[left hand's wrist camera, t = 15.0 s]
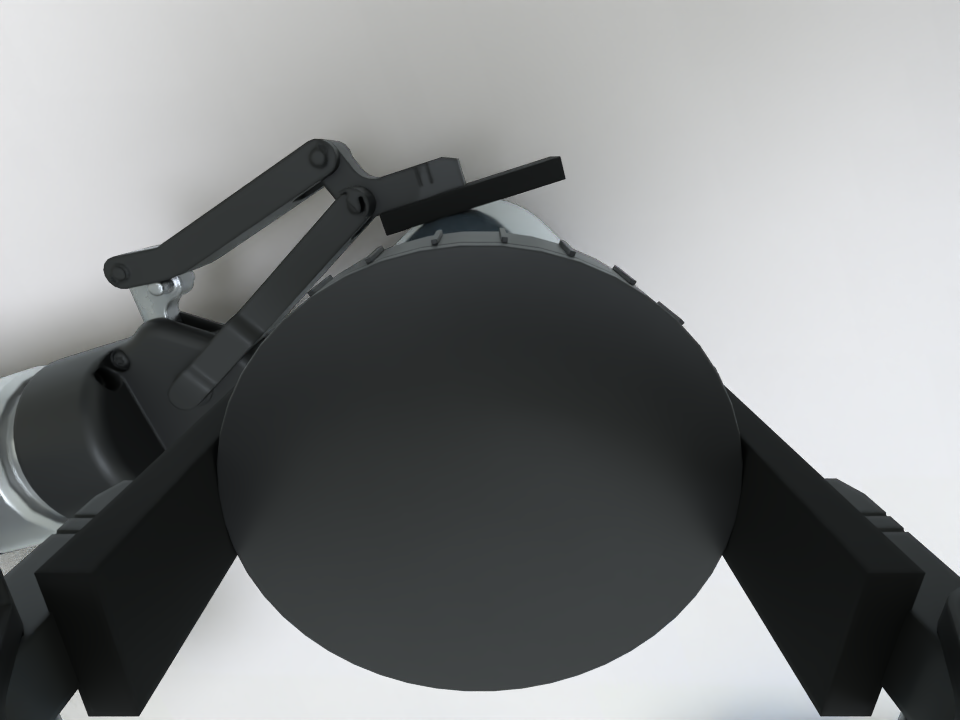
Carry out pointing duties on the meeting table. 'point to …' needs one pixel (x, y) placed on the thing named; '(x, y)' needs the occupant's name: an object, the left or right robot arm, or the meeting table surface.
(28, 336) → the meeting table surface
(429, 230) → the jar
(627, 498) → the lid
